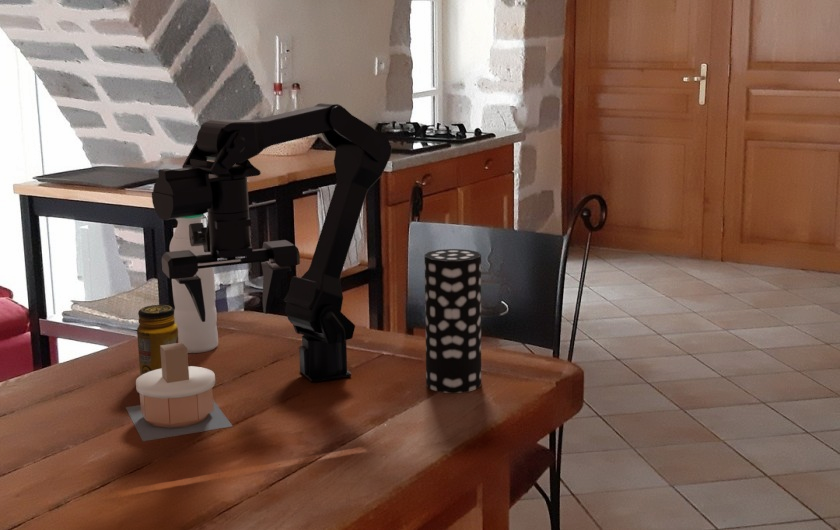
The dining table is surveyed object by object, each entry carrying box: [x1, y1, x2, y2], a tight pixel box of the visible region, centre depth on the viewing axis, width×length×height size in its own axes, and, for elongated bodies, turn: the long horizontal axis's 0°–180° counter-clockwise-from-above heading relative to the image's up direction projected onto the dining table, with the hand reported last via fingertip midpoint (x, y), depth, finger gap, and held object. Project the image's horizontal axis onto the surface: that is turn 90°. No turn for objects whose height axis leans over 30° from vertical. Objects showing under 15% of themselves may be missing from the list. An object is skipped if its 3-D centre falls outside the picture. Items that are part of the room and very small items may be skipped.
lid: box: [135, 343, 216, 398], centre depth 147 cm, size 11×11×6 cm
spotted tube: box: [424, 248, 482, 394], centre depth 160 cm, size 8×8×20 cm
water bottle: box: [169, 214, 219, 354], centre depth 179 cm, size 7×7×25 cm
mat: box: [125, 400, 234, 442], centre depth 149 cm, size 12×14×1 cm
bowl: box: [139, 387, 214, 428], centre depth 148 cm, size 9×9×5 cm
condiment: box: [136, 304, 179, 377], centre depth 163 cm, size 7×8×12 cm
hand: (234, 317), depth 154 cm, fingers open, 9 cm apart
